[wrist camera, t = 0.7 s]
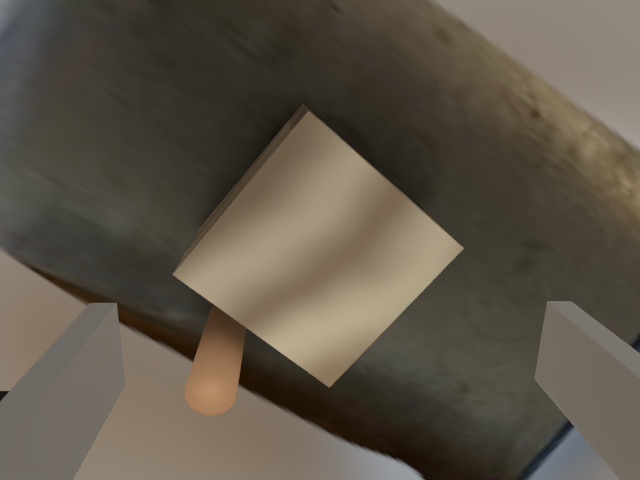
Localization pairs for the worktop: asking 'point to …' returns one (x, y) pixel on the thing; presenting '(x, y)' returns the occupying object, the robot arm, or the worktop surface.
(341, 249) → the open wooden box
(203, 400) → the block with rod
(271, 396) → the worktop surface
